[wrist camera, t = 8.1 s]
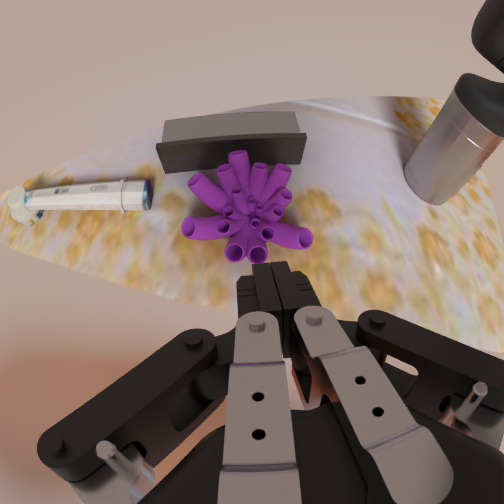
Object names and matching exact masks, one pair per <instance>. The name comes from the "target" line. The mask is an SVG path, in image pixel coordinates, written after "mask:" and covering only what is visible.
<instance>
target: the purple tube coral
mask: <svg viewBox="0 0 504 504" xmlns="http://www.w3.org/2000/svg"><path fill="white" fill-rule="evenodd" d="M228 162H229V164H224V165H221V166H219V167H218V168H217V169H216V173H217V177H218V180H219V183H220V185H221V188H222V189H221V188H220V187H219V186H217V185H216V184H215V183H214V182H213V181H211V180H210V179H209V178H208V177H207V176H205V175H204V174H203V173H197V174H195V175H194V176H193V177H192V178H191V179H190V180H189V182H188V187H189V188H190V189H191V191H192V192H193V193H194V194H195V195H196V196H197V197H198V198H199V199H200V200H201V201H202V202H203V203H205V204H206V205H207V206H209V207H210V208H211V209H213V210H214V211H216V212H218V213H219V214H221V215H219V216H210V217H188V218H186V219H185V220H184V221H183V223H182V233H183V235H184V236H185V237H187V238H190V239H195V240H212V239H219V238H224V237H228V236H232V237H231V239H230V241H229V242H228V244H227V246H226V248H225V252H224V253H225V257H226V258H227V259H228V260H229V261H230V262H234V263H235V262H239V261H241V260H242V259H243V258H244V257H245V256H247V258H248V259H249V261H250V262H252V263H253V264H259V263H264V262H265V261H266V260H267V258H268V251H267V246H266V243H265V242H268V241H271V242H273V243H275V244H277V245H280V246H283V247H286V248H291V249H307V248H309V247H310V246H311V245H312V242H313V235H312V232H311V231H310V230H309V229H307V228H303V227H298V226H293V225H289V224H286V223H283V222H280V221H278V220H279V219H280V218H281V217H282V216H283V214H284V208H285V207H286V206H287V205H288V204H289V203H290V201H291V199H292V193H291V192H290V191H289V190H288V189H284V188H285V186H286V184H287V182H288V180H289V178H290V175H291V169H290V168H289V167H288V166H286V165H284V164H281V163H278V164H276V165H275V167H274V168H273V170H272V171H271V173H270V174H269V176H268V172H269V168H268V165H267V164H265V163H260V162H257V163H254V164H253V166H252V170H251V167H250V162H249V158H248V154H247V151H246V150H237V151H232V152H230V153H229V154H228Z"/></svg>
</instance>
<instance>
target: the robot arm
mask: <svg viewBox="0 0 504 504" xmlns="http://www.w3.org/2000/svg"><path fill="white" fill-rule="evenodd" d="M471 38H472V43H473V45H474V46H475V48H476V50H477V51H478V52H479V53H480V54H481V55H482V56H483V57H484V58H486V59H487V60H488V61H489V62H490V63H491V64H493V65H494V66H495V67H496V68H497V69H499V70H500V71H501V72H502V73H503V74H504V0H486V1H485V3H484V5H483V6H482V8H481V10H480V11H479V13H478V15H477V17H476V19H475V21H474V24H473V28H472V34H471ZM503 140H504V83H499V82H494V81H490V80H488V79H485V78H483V77H480V76H478V75H475V74H471V73H465V74H463V75H462V76H461V77H460V78H459V80H458V82H457V83H456V85H455V87H454V89H453V91H452V92H451V94H450V96H449V97H448V99H447V101H446V102H445V104H444V106H443V107H442V109H441V111H440V112H439V114H438V115H437V117H436V119H435V120H434V122H433V123H432V125H431V126H430V128H429V129H428V131H427V132H426V134H425V136H424V137H423V139H422V140H421V142H420V143H419V145H418V146H417V148H416V149H415V150H414V152H413V153H412V155H411V156H410V158H409V159H408V161H407V162H406V164H405V168H404V172H405V177H406V180H407V182H408V184H409V185H410V187H411V188H412V190H413V191H414V192H415V193H416V194H417V195H418V196H419V197H420V198H421V199H423V200H424V201H426V202H428V203H430V204H434V205H440V204H443V203H444V202H446V201H447V200H448V199H449V198H450V197H453V196H454V195H455V194H456V193H457V192H458V191H459V190H460V189H461V188H462V187H463V186H464V185H465V184H466V183H467V182H468V181H469V180H470V179H471V177H472V176H473V175H474V174H475V173H476V172H477V171H478V170H479V169H480V168H481V167H482V164H483V163H484V162H485V160H486V159H487V158H488V157H489V156H490V155H491V154H492V153H493V152H494V150H495V149H496V148H497V147H498V146H499V145H500V143H501V142H502V141H503ZM236 285H237V303H238V321H237V323H236V326H235V328H234V329H232V330H231V331H229V332H227V333H225V334H223V335H219V336H216V337H214V335H213V334H212V333H211V332H209V331H207V330H204V329H190V330H186V331H184V332H182V333H180V334H179V335H177V336H176V337H175V338H173V339H172V340H171V341H169V342H168V343H167V344H165V345H164V346H163V347H162V348H160V349H159V350H157V351H156V352H155V353H153V354H152V355H151V356H149V357H148V358H147V359H145V360H144V361H143V362H141V363H140V364H139V365H137V366H136V367H134V368H133V369H132V370H131V371H129V372H128V373H126V374H125V375H124V376H122V377H121V378H119V379H118V380H117V381H116V382H114V383H113V384H111V385H110V386H109V387H107V388H106V389H104V390H103V391H102V392H100V393H99V394H97V395H96V396H95V397H93V398H92V399H90V400H89V401H88V402H86V403H85V404H84V405H82V406H81V407H79V408H78V409H76V410H75V411H74V412H72V413H71V414H69V415H68V416H66V417H65V418H64V419H62V420H61V421H59V422H58V423H57V424H55V425H54V426H52V427H51V428H49V429H48V430H46V431H45V432H44V433H43V434H42V435H41V437H40V438H39V441H38V444H37V453H38V456H39V458H40V460H41V461H42V462H43V463H44V464H45V465H46V466H47V467H49V468H50V469H51V470H52V471H54V472H55V473H56V474H57V475H58V476H59V477H60V478H61V479H63V480H64V481H65V482H67V483H68V484H69V485H71V487H72V488H73V489H74V491H75V492H76V493H77V494H78V496H79V497H80V498H81V500H82V501H83V502H84V503H85V504H504V454H503V453H502V452H501V451H499V448H500V445H501V441H502V438H503V434H504V360H502V359H499V358H497V357H494V356H491V355H489V354H487V353H484V352H482V351H479V350H477V349H475V348H472V347H470V346H467V345H465V344H462V343H460V342H457V341H455V340H452V339H450V338H447V337H445V336H443V335H440V334H438V333H435V332H433V331H430V330H428V329H425V328H423V327H421V326H418V325H416V324H413V323H411V322H408V321H406V320H404V319H401V318H399V317H396V316H394V315H391V314H389V313H387V312H384V311H380V310H368V311H365V312H363V313H362V314H360V316H359V318H358V322H355V321H342V320H338V319H336V318H335V316H334V315H333V313H332V312H331V311H330V310H328V309H326V308H324V307H322V306H321V304H320V302H319V300H318V298H317V296H316V294H315V292H314V290H313V288H312V286H311V284H310V281H309V279H308V277H307V276H306V275H304V274H303V273H302V272H300V271H294V272H291V270H290V268H289V266H288V263H287V261H282V262H270V264H269V263H259V264H252V275H249V276H241V277H240V278H239V280H238V281H237V283H236ZM282 354H283V358H291V361H292V376H293V379H294V381H295V384H296V387H297V390H298V393H299V396H300V398H301V401H302V404H303V407H304V410H290V402H289V394H288V385H287V376H286V368H285V362H284V361H283V360H282ZM387 355H390V356H392V357H394V358H396V359H399V360H400V361H403V362H405V363H407V364H409V365H412V366H413V367H415V368H416V369H417V371H418V374H419V375H417V376H415V375H411V374H409V373H407V372H405V371H403V370H400V369H398V368H396V367H394V366H392V365H390V364H388V363H386V362H385V360H386V357H387ZM226 395H228V398H227V411H226V424H225V425H223V426H221V427H219V428H217V429H215V430H214V431H212V432H211V433H209V434H208V435H206V436H205V437H204V438H203V439H202V440H201V441H200V442H199V443H198V444H197V445H196V446H195V447H194V448H193V449H192V450H191V451H190V452H189V453H188V454H187V455H186V456H185V457H184V459H183V460H181V461H180V463H179V464H178V465H177V466H176V467H175V468H174V469H173V470H172V471H171V472H170V473H169V474H168V475H166V476H165V477H164V478H163V479H162V480H161V481H160V482H159V483H158V484H157V485H156V486H155V487H154V488H153V489H152V490H151V491H150V492H149V490H150V489H151V488H152V487H153V485H154V482H155V472H154V470H153V468H154V467H155V466H157V465H158V464H159V463H160V462H161V461H162V460H163V459H164V458H166V456H168V455H169V454H170V453H171V452H172V451H173V450H174V449H175V448H176V447H178V446H179V445H180V444H181V443H182V442H183V441H184V440H185V439H186V438H187V437H188V436H189V435H190V434H191V433H192V432H193V431H194V430H195V429H196V428H197V427H199V426H200V425H201V424H202V422H204V420H206V419H207V418H208V416H210V415H211V414H212V413H213V412H214V411H215V410H216V409H217V408H218V407H219V405H220V404H221V403H222V402H223V401H224V399H225V396H226ZM148 492H149V493H148ZM147 493H148V494H147Z"/></svg>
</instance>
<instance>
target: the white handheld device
mask: <svg viewBox="0 0 504 504" xmlns="http://www.w3.org/2000/svg"><path fill="white" fill-rule="evenodd" d="M152 197H153V185H152V181H151V180H128V177H125V178H123V179H121V180H117V181H104V182H93V183H83V184H73V185H64V186H56V187H48V188H41V189H34V190H28V189H26V188H25V187H22V186H18V187H15V188H14V189H12V191H11V192H10V193H9V195H8V198H7V199H8V204H9V206H10V208H11V209H10V211H11V216H12V217H13V218H14V219H15V220H16V221H17V222H21V223H22V224H24V225H25V226H32V224H33V223H35V222H38V221H39V219H40V218H41V217H42V215H43V212H44V210H121V212H122V213H125V212H126V211H127V210H150V208H151V203H152Z"/></svg>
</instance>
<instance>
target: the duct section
mask: <svg viewBox="0 0 504 504" xmlns="http://www.w3.org/2000/svg"><path fill="white" fill-rule="evenodd" d="M306 139H307V136H306V133H300V130H299V126H298V123H297V120H296V116H295V113H294V112H250V113H232V114H219V115H207V116H198V117H189V118H181V119H173V120H167V121H165V124H164V130H163V137H162V143H156V150H157V153H158V155H159V158H160V161H161V163H162V166H163V169H164V171H165V174H168V173H177V172H186V171H195V170H205V169H217V168H218V167H219V166H221V165H224V164H229V162H228V154H229V153H230V152H232V151H237V150H246V151H247V154H248V158H249V162H250V166H253V164H254V163H257V162H260V163H265V164H267V165H276V164H278V163H281V164H284V165H286V164H300V163H301V159H302V155H303V151H304V147H305V143H306Z"/></svg>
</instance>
